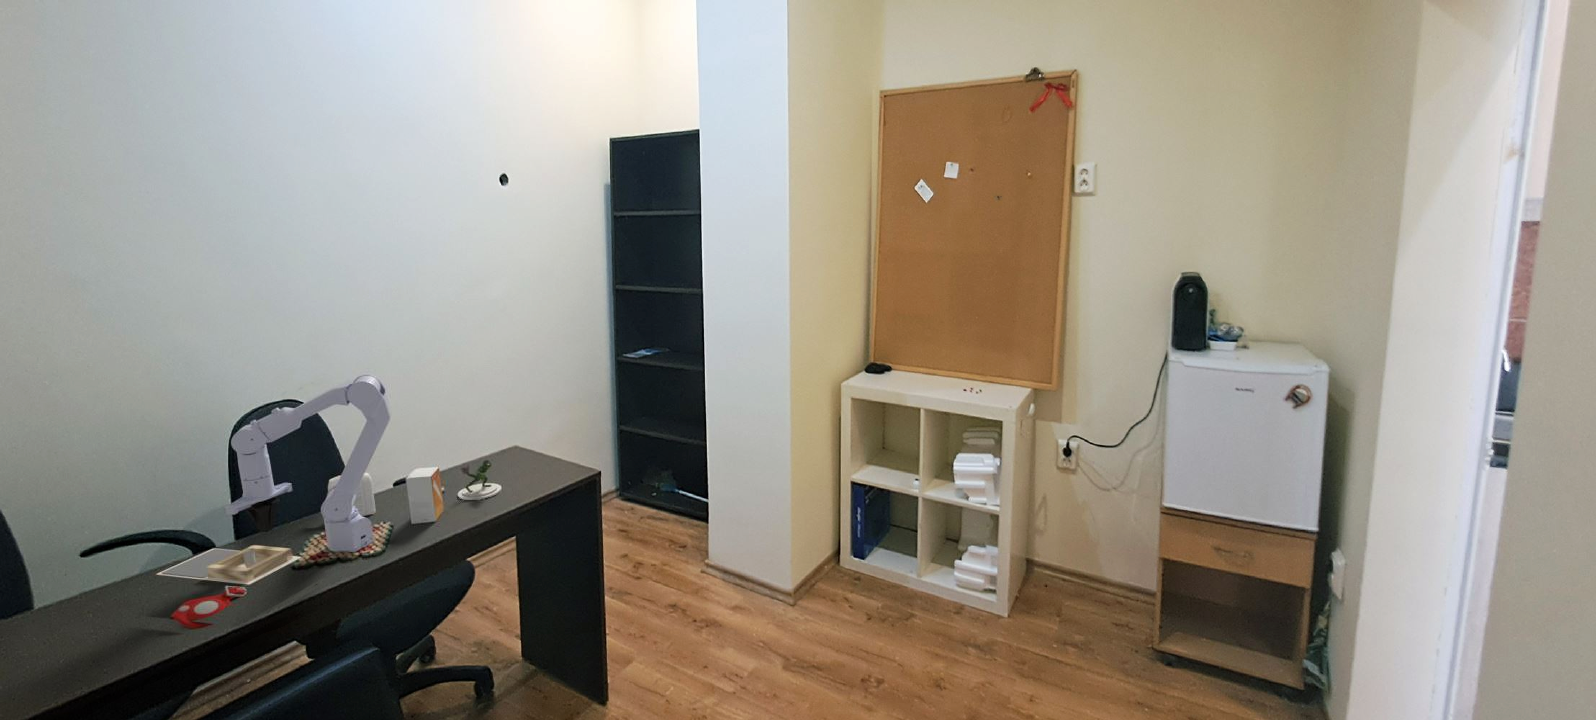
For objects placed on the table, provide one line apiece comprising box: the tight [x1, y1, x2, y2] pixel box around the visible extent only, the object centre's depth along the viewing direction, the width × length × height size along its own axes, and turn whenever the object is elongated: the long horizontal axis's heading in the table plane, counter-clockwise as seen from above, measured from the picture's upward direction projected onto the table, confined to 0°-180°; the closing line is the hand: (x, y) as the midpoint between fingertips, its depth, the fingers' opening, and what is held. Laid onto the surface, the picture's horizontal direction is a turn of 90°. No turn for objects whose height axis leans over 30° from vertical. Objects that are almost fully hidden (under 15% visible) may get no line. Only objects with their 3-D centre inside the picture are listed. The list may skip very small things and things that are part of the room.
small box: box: [405, 466, 445, 525], centre depth 188 cm, size 8×6×13 cm
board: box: [155, 548, 302, 585], centre depth 160 cm, size 26×13×6 cm, turn 78°
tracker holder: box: [170, 585, 248, 629], centre depth 143 cm, size 12×4×10 cm
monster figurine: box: [457, 459, 503, 501], centre depth 205 cm, size 12×12×10 cm
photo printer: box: [327, 472, 376, 517], centre depth 190 cm, size 10×4×12 cm, turn 123°
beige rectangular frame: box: [206, 544, 294, 582], centre depth 159 cm, size 11×11×2 cm
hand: (265, 530), depth 163 cm, fingers closed
